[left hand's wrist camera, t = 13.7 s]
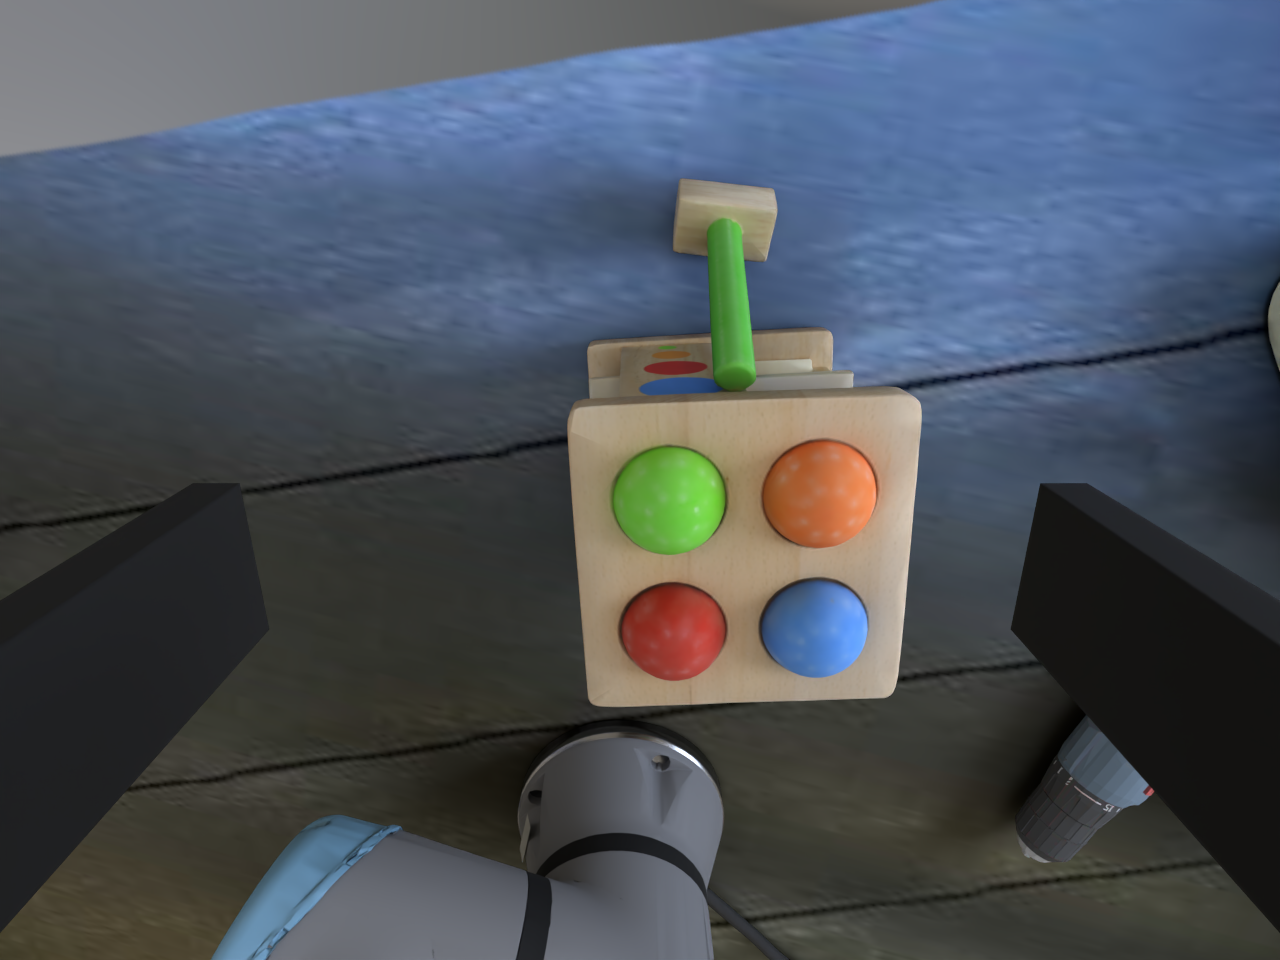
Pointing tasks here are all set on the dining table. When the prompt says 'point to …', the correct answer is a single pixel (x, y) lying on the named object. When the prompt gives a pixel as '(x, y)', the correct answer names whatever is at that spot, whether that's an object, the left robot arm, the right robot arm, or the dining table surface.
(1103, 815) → the power drill
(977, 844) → the dining table surface
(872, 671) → the pounding bench toy
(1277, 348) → the boat shoe
